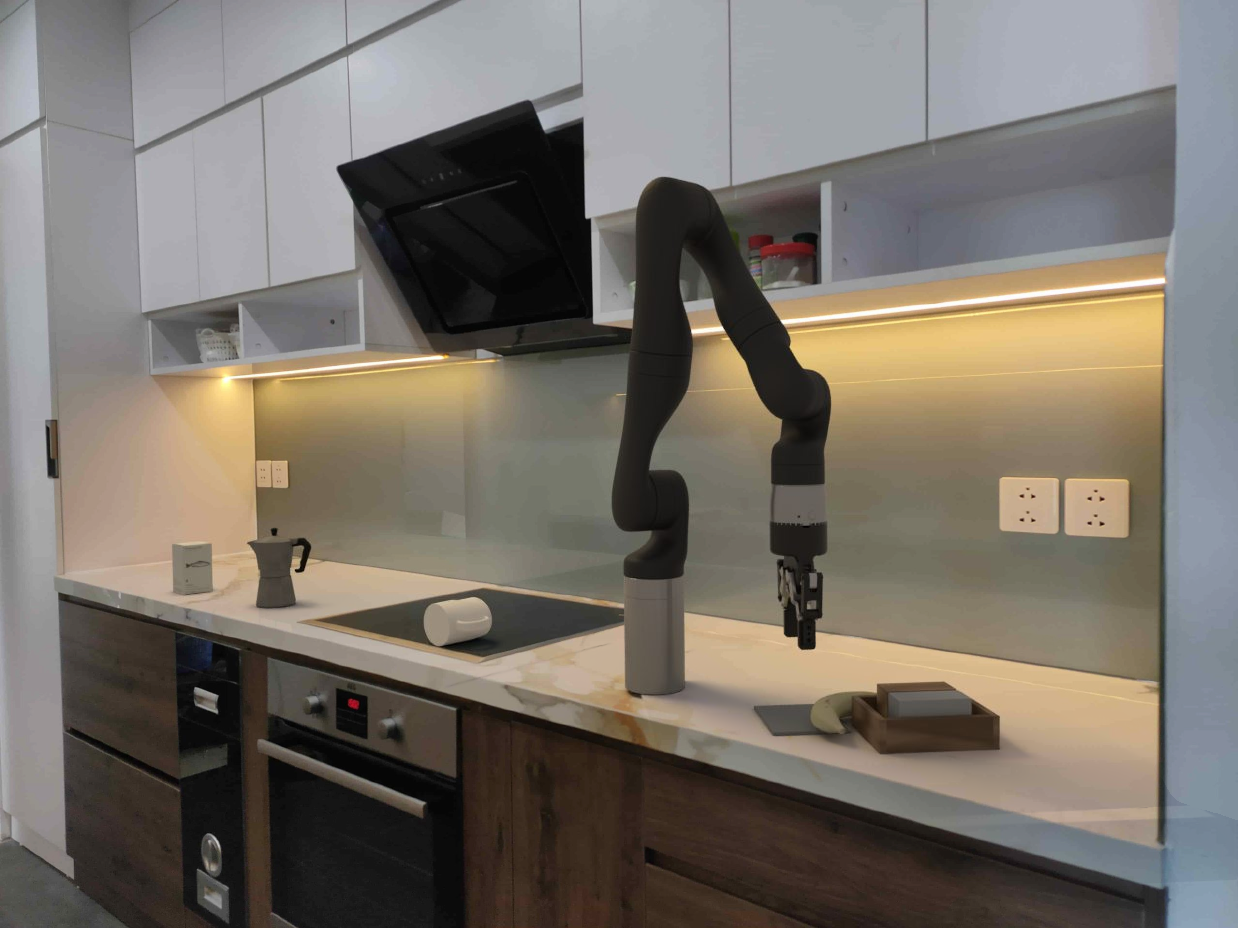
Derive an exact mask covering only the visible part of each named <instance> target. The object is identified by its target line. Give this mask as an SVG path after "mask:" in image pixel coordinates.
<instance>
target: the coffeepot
mask: <svg viewBox="0 0 1238 928" xmlns="http://www.w3.org/2000/svg"><path fill="white" fill-rule="evenodd" d="M278 529H279V528H277V527H272V528H270V533H271V535H270V536H267V537H262V538H257V539H253V540H250V541H247V543H246V545H248V546H250V547H251V549H252V552H254V554H255V556H256V557H255V558H256V562H257V563H256V564H257V568H258V569H257V570H258V571H259V576H260V577H259V579H258V580H259V581H258V588H257V596H256V600H255V606H256V607H257V608H262V609H263V608H264V609H265V608H266V609H267V608H268V609H269V608H271V609H272V608H273V609H274V608H281V607H282V608H283V607H288V606H293V605H295V604H296V601H297V600H296V593H295V589H294V583H293V578H292V575H291V569H292V565H293V557H294V556H293V555H294V547H295V548H296V547H299V546H302V547H303V550H302V553H301V554H302V555H301V559H300V561H299V568H294V573H296V574H300V573H304V572H305V570H306V566H307V563H308V560H309V556H310V553H311V550H312V544H311V543H310V541H308V540H307V539H306V538H305V537H287V536H281V535H278Z"/></svg>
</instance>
